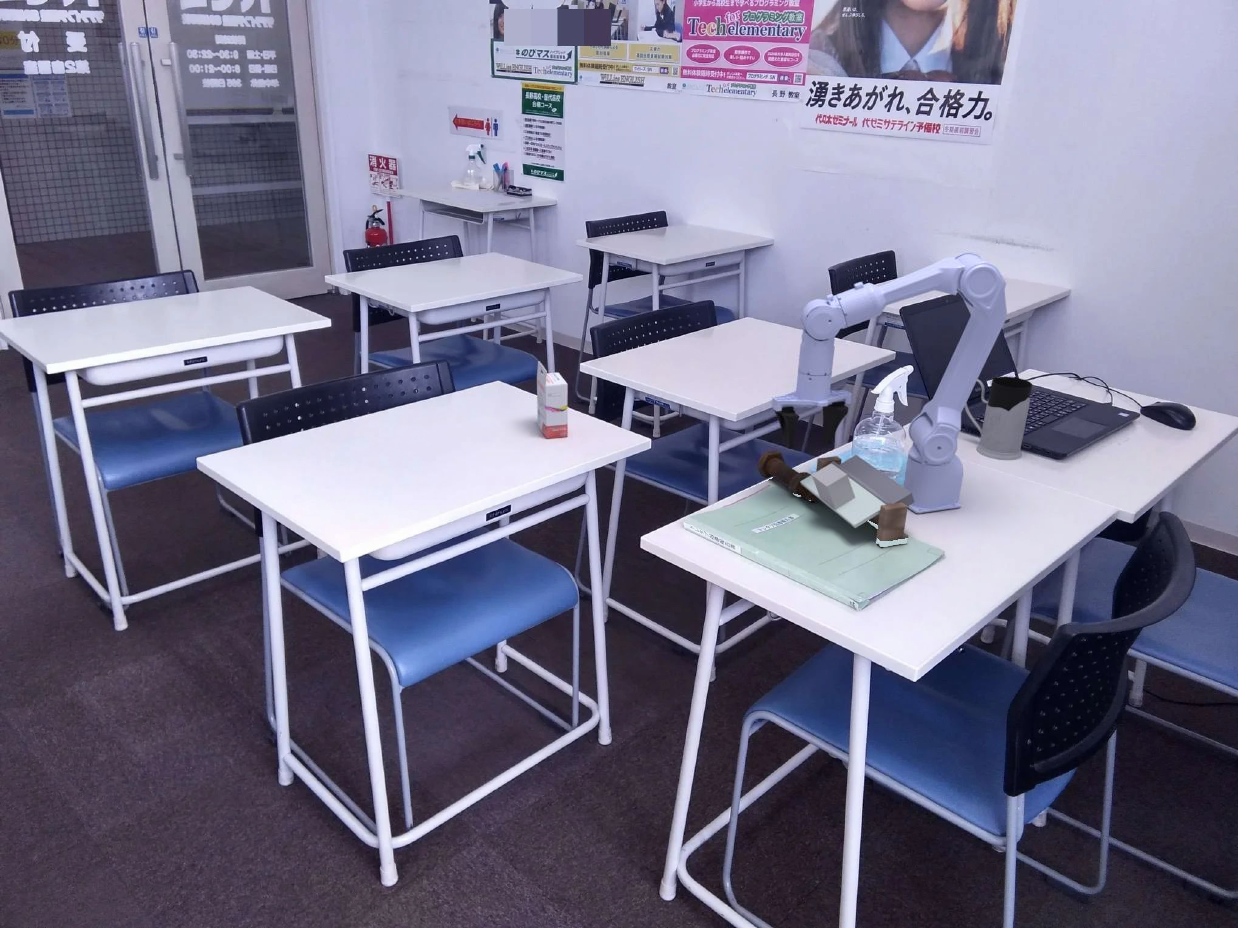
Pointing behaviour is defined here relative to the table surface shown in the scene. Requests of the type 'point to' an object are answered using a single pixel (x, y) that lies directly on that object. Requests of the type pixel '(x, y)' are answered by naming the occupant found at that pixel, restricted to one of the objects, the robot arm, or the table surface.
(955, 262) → the robot arm
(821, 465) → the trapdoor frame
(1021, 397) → the glass holder
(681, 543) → the table surface
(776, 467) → the bolt
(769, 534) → the table surface
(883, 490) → the trapdoor
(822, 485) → the grey cube
